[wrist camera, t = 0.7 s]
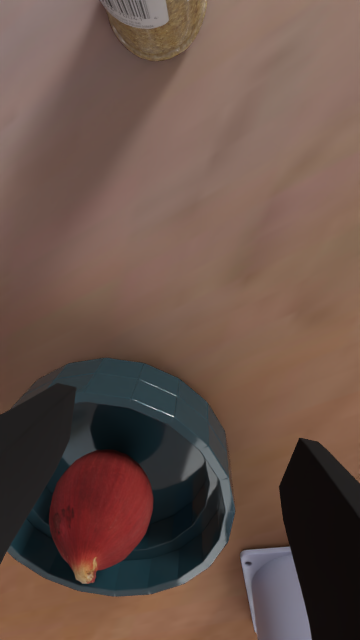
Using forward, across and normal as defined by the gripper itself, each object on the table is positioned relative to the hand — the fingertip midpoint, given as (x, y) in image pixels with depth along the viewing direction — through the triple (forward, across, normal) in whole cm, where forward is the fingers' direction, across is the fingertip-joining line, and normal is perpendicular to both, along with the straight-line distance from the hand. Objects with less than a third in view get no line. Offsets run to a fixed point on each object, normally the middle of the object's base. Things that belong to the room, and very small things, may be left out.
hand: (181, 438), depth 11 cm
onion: (+10, +3, +10) cm, 15 cm away
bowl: (+10, +3, +10) cm, 15 cm away
